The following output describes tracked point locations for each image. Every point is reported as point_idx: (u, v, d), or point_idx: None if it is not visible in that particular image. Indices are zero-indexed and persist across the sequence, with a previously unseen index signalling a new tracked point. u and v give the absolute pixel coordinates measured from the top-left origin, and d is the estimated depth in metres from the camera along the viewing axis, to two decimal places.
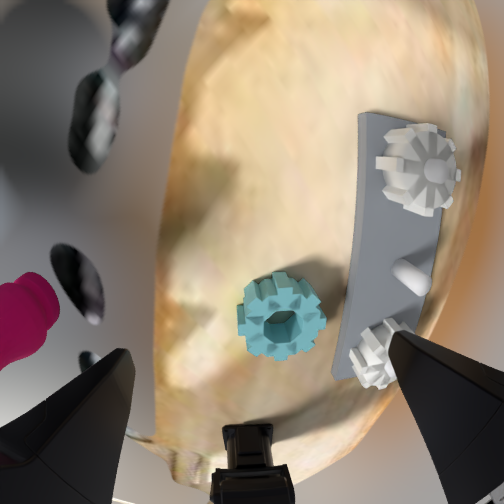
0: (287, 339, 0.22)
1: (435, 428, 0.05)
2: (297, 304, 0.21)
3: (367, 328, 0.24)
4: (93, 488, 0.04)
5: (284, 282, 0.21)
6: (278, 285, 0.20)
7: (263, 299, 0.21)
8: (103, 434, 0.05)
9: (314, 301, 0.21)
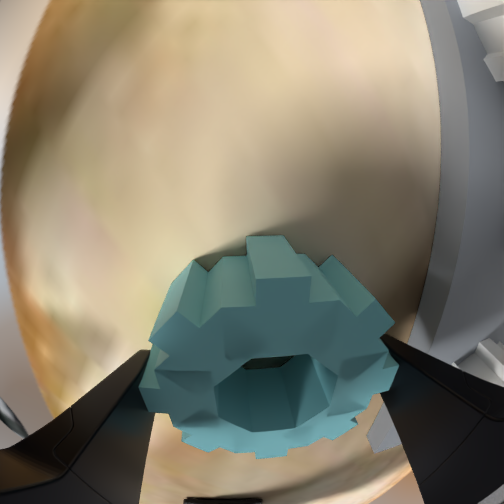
0: (289, 417, 0.07)
1: (414, 437, 0.05)
2: (324, 335, 0.06)
3: (453, 365, 0.09)
4: (120, 495, 0.04)
5: (280, 260, 0.06)
6: (259, 270, 0.06)
7: (204, 319, 0.06)
8: (131, 439, 0.05)
9: (377, 322, 0.06)
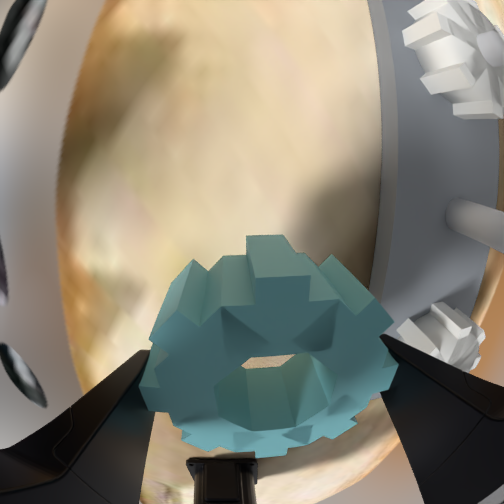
0: (289, 416, 0.07)
1: (414, 437, 0.05)
2: (324, 334, 0.06)
3: (407, 320, 0.13)
4: (121, 496, 0.04)
5: (280, 259, 0.06)
6: (259, 269, 0.06)
7: (204, 318, 0.06)
8: (131, 439, 0.05)
9: (377, 321, 0.06)
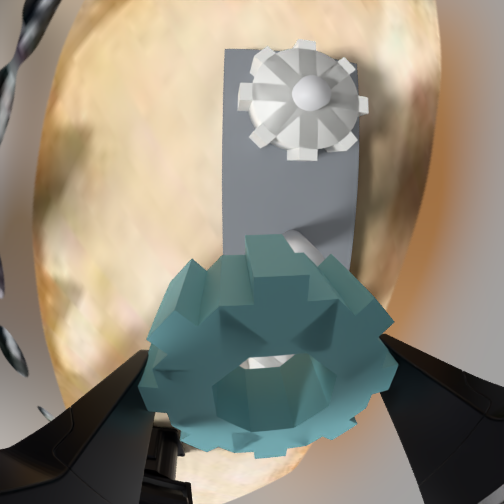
0: (288, 417, 0.07)
1: (414, 437, 0.05)
2: (323, 334, 0.06)
3: None
4: (121, 495, 0.04)
5: (278, 259, 0.06)
6: (257, 269, 0.06)
7: (202, 317, 0.06)
8: (131, 439, 0.05)
9: (376, 322, 0.06)
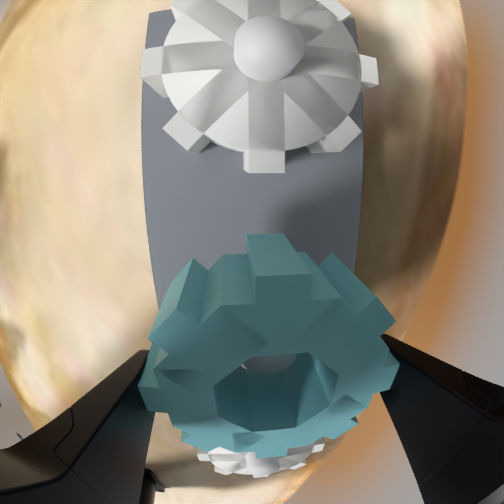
0: (289, 417, 0.07)
1: (414, 437, 0.05)
2: (325, 333, 0.06)
3: None
4: (121, 495, 0.04)
5: (280, 258, 0.06)
6: (259, 268, 0.06)
7: (204, 317, 0.06)
8: (131, 439, 0.05)
9: (378, 321, 0.06)
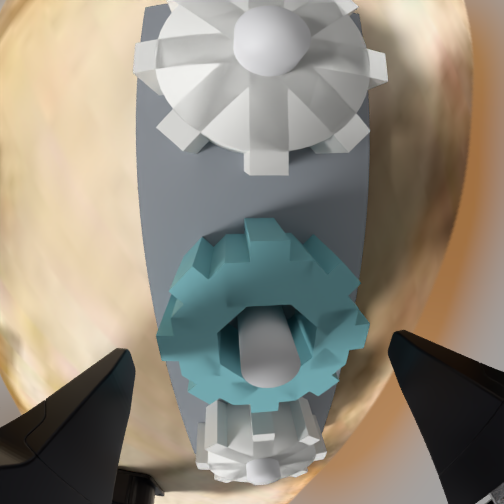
0: None
1: (435, 428, 0.05)
2: (303, 289, 0.08)
3: (216, 401, 0.13)
4: (93, 488, 0.04)
5: (269, 232, 0.08)
6: (253, 237, 0.08)
7: (212, 273, 0.08)
8: (103, 434, 0.05)
9: (345, 281, 0.08)
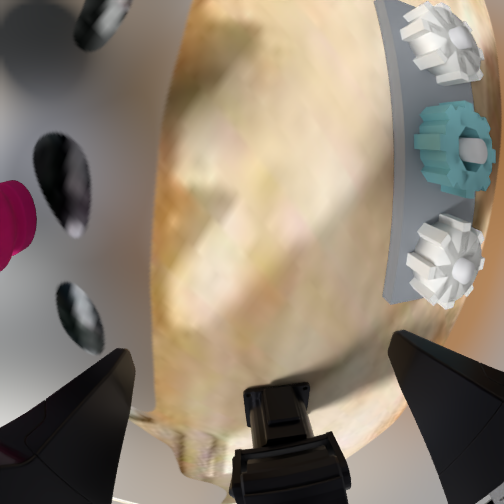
0: (471, 171, 0.14)
1: (435, 428, 0.05)
2: (478, 124, 0.13)
3: (424, 223, 0.18)
4: (93, 488, 0.04)
5: None
6: (461, 101, 0.12)
7: (455, 110, 0.13)
8: (103, 434, 0.05)
9: (487, 126, 0.13)
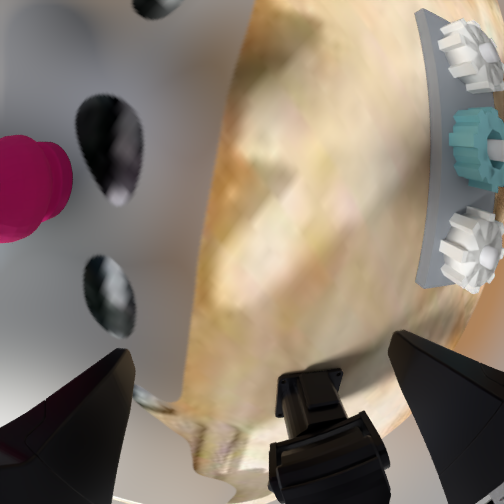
0: (495, 169, 0.15)
1: (435, 428, 0.05)
2: (501, 128, 0.13)
3: (455, 214, 0.18)
4: (93, 488, 0.04)
5: None
6: (489, 107, 0.13)
7: (484, 114, 0.13)
8: (103, 434, 0.05)
9: None
